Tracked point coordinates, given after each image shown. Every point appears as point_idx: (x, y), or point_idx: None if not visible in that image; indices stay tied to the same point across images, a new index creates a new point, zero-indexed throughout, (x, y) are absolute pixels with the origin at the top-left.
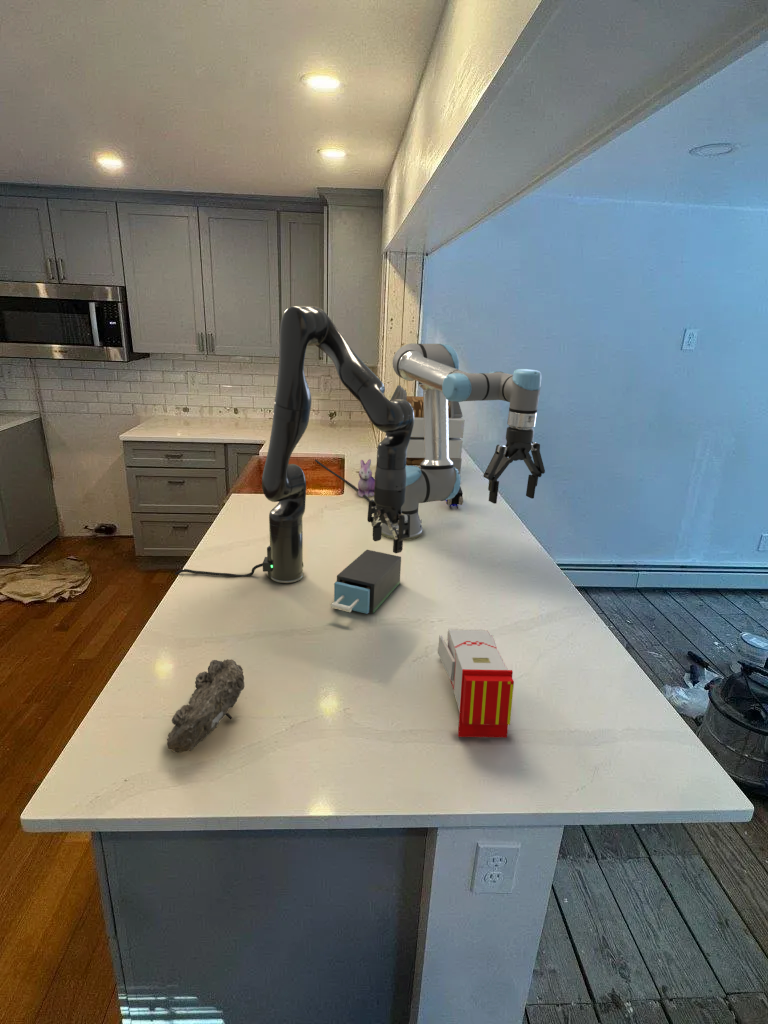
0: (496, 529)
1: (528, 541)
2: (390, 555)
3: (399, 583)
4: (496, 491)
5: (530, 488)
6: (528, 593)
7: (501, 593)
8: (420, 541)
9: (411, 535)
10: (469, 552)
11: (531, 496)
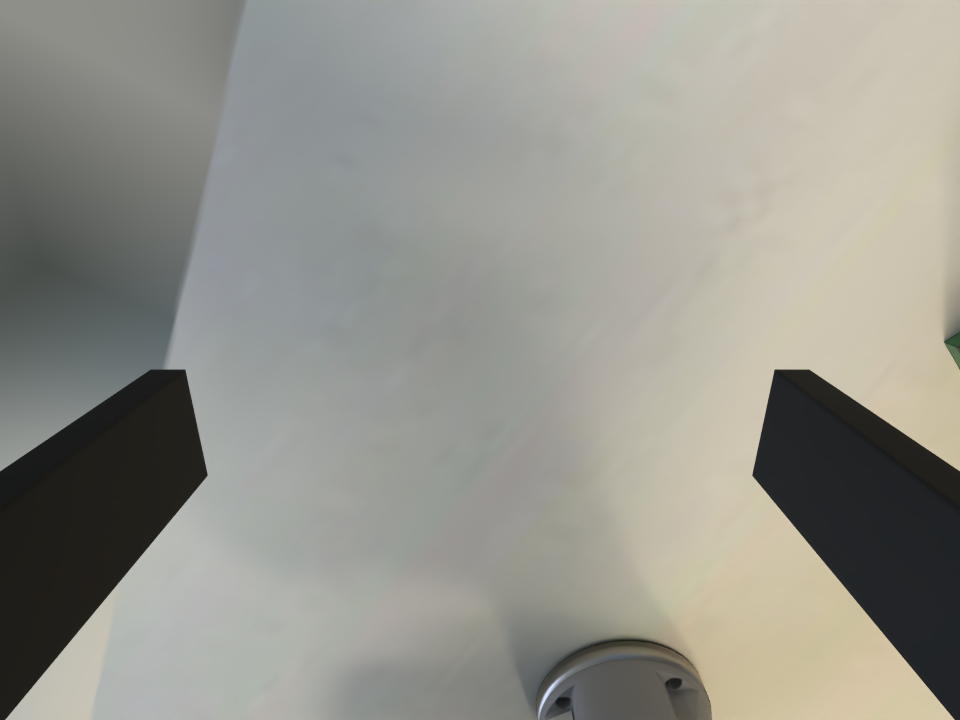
0: (221, 618)
1: None
2: None
3: (949, 339)
4: (922, 457)
5: (119, 489)
6: (486, 14)
7: (613, 74)
8: (599, 619)
9: (630, 655)
10: (474, 480)
11: (173, 393)
